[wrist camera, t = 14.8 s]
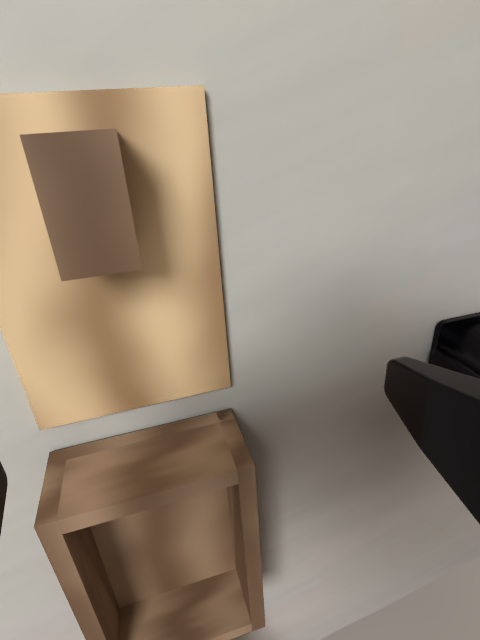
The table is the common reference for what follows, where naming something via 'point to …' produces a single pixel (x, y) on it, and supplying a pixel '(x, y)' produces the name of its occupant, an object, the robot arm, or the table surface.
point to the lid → (109, 250)
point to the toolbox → (157, 532)
